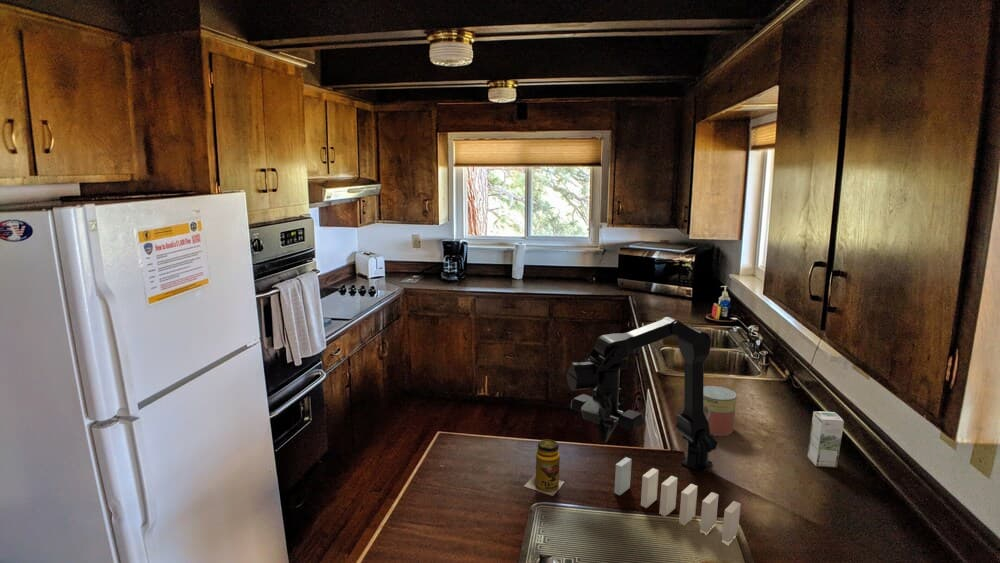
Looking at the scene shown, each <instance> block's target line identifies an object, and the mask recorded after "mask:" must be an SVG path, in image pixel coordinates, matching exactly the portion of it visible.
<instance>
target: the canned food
mask: <svg viewBox="0 0 1000 563" xmlns="http://www.w3.org/2000/svg"><path fill="white" fill-rule="evenodd" d="M737 396H738V394H737V393H736V391H734V390H732V389H730V388H728V387H724V386H718V385H704V390H703V411H704V414H705V416H706V418H707V420H708V423H709V429H710V435H711V434H713V436H717V435H719V436H721V437H725V435H726V436H730V435H731V433H732V432H734V426H735V424H734V423H735V416H736V415H735V414H736V413H735V412H736V403H737ZM729 434H730V435H729ZM732 434H733V433H732ZM722 435H724V436H722ZM719 436H718V437H719Z"/></svg>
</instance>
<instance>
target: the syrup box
mask: <svg viewBox="0 0 1000 563" xmlns="http://www.w3.org/2000/svg"><path fill="white" fill-rule="evenodd" d="M844 424H845V421H844V419H843V418H842V417H841V416H840V415H839V414H838V413H836V412H835V411H823V410H822V411H817V410H815V411H813V412H812V419H811V428H810V432H809V433H810V435H809V442H808V447H807V458H808V459H809V460H810V461H811V463H812V464H814V466H815V467H820V468H823V467H824V468H838V462H839V456H840V451H841V450H840V449H841V443H842V437H843V430H844Z"/></svg>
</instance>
